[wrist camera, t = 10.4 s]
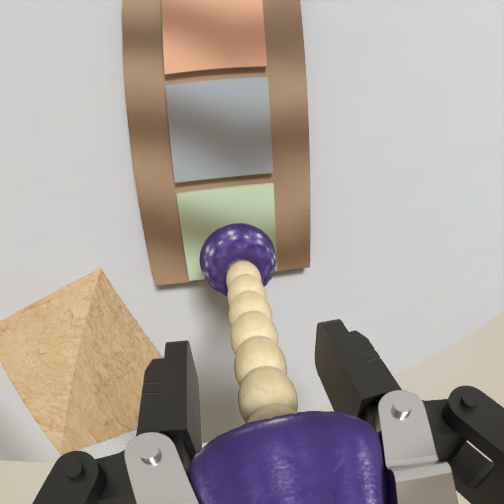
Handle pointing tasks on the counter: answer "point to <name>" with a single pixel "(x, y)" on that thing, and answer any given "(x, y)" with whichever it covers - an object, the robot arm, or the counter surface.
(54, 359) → the model pyramid
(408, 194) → the counter surface
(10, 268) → the counter surface
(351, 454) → the toy lamp
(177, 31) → the tile board
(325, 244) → the counter surface
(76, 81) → the counter surface
